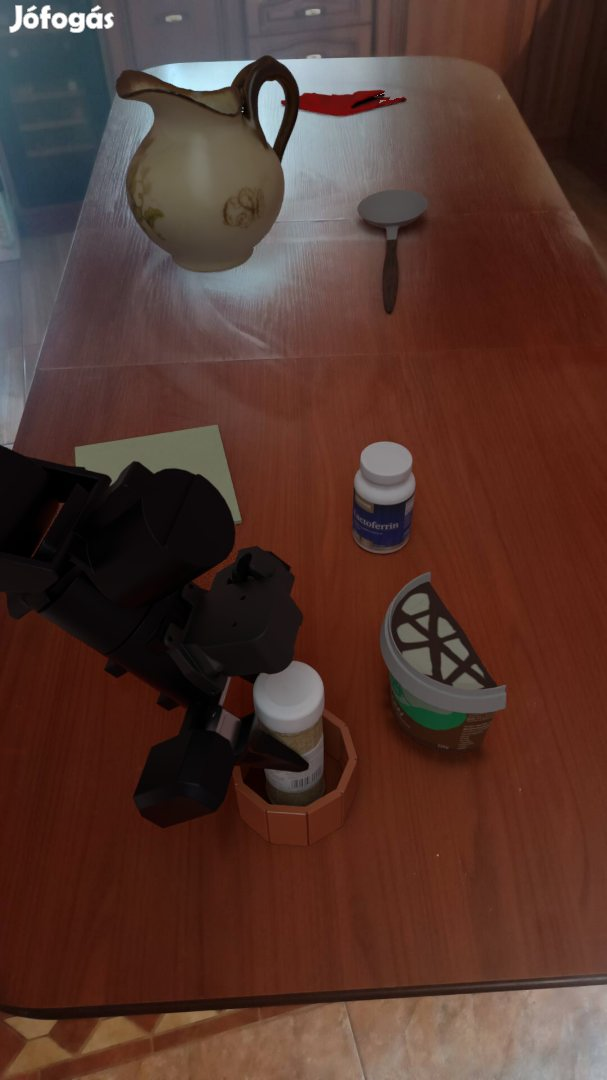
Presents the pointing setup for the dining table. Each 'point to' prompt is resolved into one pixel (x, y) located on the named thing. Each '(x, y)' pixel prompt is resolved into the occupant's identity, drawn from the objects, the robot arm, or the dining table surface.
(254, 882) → the dining table surface
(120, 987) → the dining table surface
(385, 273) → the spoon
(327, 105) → the cloth
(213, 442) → the placemat
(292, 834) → the brown hollow polygonal ring
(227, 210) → the pitcher
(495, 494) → the dining table surface
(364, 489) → the pill bottle
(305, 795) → the sprinkles bottle
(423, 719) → the food container
